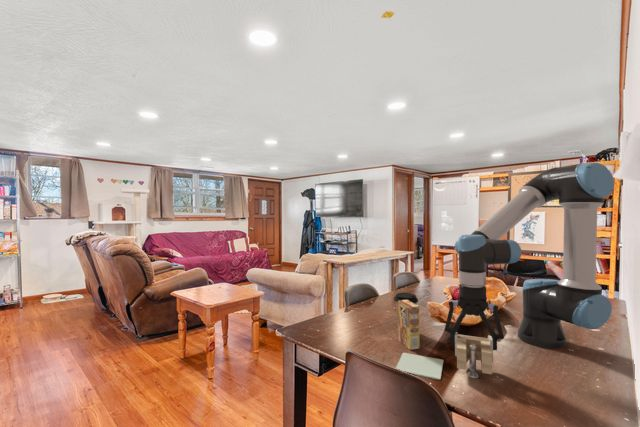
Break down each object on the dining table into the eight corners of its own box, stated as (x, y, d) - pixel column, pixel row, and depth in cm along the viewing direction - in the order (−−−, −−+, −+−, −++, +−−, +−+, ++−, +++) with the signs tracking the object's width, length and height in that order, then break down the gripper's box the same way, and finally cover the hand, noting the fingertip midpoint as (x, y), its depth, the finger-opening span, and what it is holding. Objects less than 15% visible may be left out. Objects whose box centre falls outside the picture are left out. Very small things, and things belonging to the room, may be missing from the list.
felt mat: (443, 361, 102) (443, 359, 102) (440, 380, 91) (440, 378, 91) (402, 353, 108) (402, 352, 108) (395, 370, 96) (395, 369, 96)
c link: (458, 352, 101) (457, 334, 101) (489, 357, 98) (489, 338, 98) (457, 368, 91) (456, 347, 91) (492, 374, 88) (491, 353, 88)
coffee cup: (419, 337, 122) (419, 298, 122) (394, 335, 124) (394, 297, 124) (416, 328, 131) (416, 292, 131) (393, 327, 133) (393, 291, 133)
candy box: (420, 349, 112) (420, 305, 112) (409, 350, 111) (409, 306, 111) (407, 339, 120) (407, 299, 120) (397, 340, 119) (397, 300, 119)
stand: (478, 374, 94) (478, 343, 94) (478, 379, 91) (478, 346, 91) (467, 372, 95) (467, 341, 95) (467, 377, 92) (467, 345, 92)
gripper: (511, 284, 96) (512, 358, 96) (436, 279, 106) (437, 346, 106) (515, 290, 90) (516, 369, 90) (434, 284, 99) (435, 356, 99)
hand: (473, 357), depth 98 cm, fingers closed on c link, 9 cm apart
